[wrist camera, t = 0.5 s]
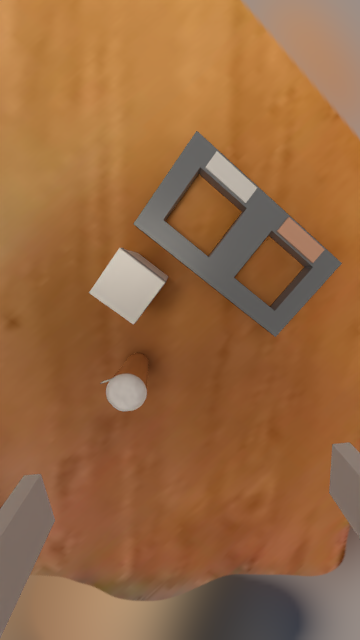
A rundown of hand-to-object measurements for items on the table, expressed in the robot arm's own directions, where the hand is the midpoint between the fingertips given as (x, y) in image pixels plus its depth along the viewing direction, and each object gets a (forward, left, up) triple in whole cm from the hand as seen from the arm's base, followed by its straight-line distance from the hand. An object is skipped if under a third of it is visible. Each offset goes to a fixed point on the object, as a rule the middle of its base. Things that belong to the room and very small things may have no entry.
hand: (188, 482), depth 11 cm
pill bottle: (-3, -7, -23) cm, 25 cm away
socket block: (-2, +14, -23) cm, 27 cm away
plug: (-9, +3, -23) cm, 25 cm away
